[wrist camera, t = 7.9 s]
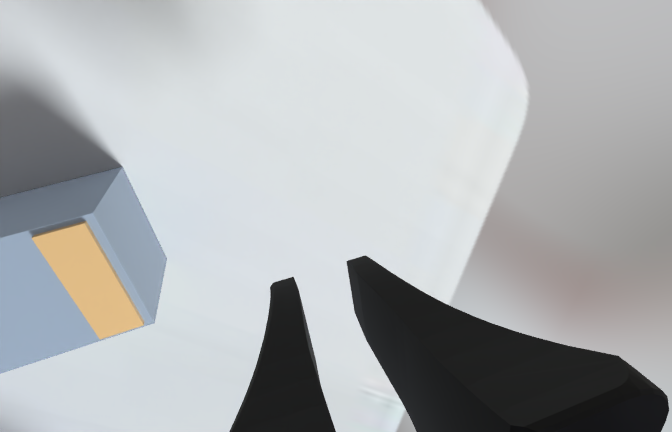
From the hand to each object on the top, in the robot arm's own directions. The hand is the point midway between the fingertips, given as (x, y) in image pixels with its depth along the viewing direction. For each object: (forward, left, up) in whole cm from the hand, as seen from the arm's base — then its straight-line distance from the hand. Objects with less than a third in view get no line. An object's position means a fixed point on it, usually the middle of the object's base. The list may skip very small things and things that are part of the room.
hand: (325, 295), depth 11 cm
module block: (0, +10, -9) cm, 13 cm away
